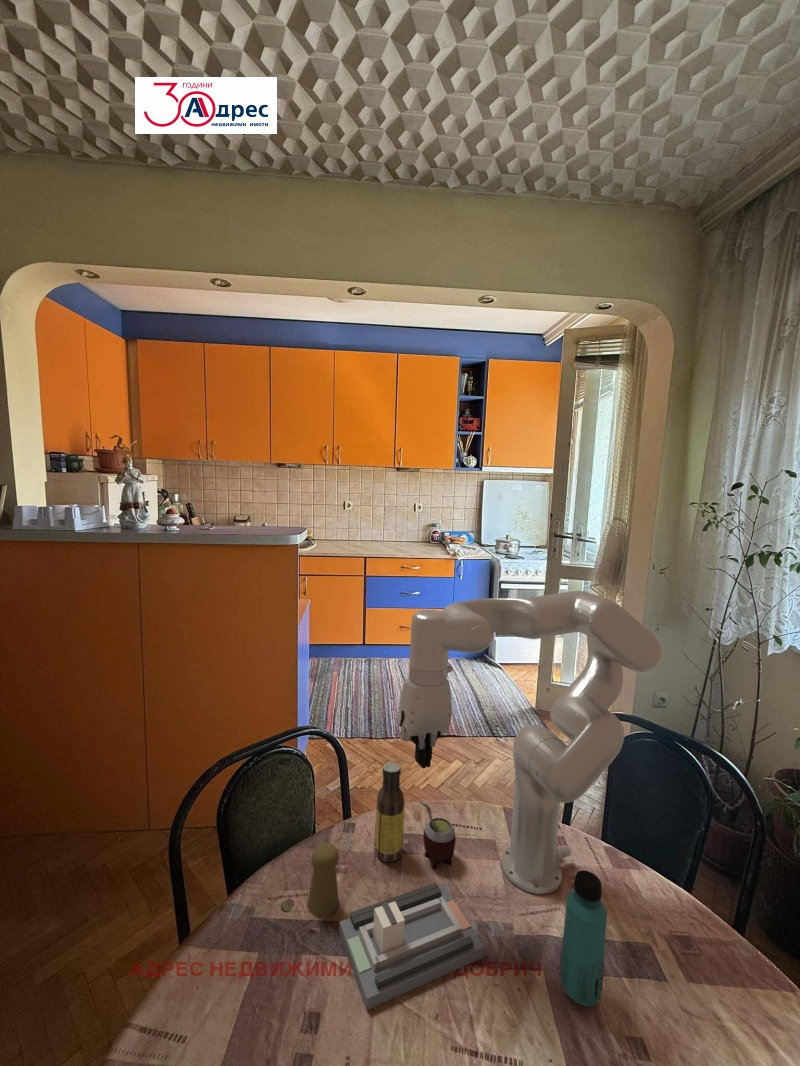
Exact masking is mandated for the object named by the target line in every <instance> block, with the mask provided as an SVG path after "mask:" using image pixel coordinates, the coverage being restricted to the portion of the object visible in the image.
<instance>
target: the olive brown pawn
mask: <svg viewBox="0 0 800 1066" xmlns="http://www.w3.org/2000/svg"><path fill="white" fill-rule="evenodd" d="M339 856H340V855H339V850H338V849H337V847H336V845H334V844H333V843H330V842H323V843H319V844H318V845H317V846H316V847H315V848H314V849H313V851H312V854H311V865H312V868H313V871H312V876H311V882H310V886H309V893H308V897H307V903H306V905H307V909H308V911H309V912H310V914H312V915H313V916H316V917H323V918H324V917H327V916H329V915H331V914H332V913H334V912H335V911H336V910H337V908H338V906H339V900H340V899H339V891H338V890H339V889H338V879H337V869H336V868H337V866H338V862H339V859H340V857H339Z"/></svg>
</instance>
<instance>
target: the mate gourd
mask: <svg viewBox="0 0 800 1066" xmlns="http://www.w3.org/2000/svg"><path fill="white" fill-rule="evenodd" d="M418 803H420V804H421V806H424V807H425V808H426V811H427V813H428V817H429V821H428V822H427V824H426V825H425V827H424V830H423V844H424V850H425V852H424V854H423V855H424V857H425V858H428V859H431V860H433V861H432V863H433V864H432V866H431V868H432V869H431V870H433V871H436V870H437V868H438V866H439V863H441V864H445V865H448V866H452V864H453V861H452V859H453V857H454V853H455V849H456V848H455V847H456V841H457V840H456V832H455V828H454V826H453V825H452V823H451V822H450V821H449V820H447V819H446V818H444V817H435V818H434V817H433V816H432V810H431V807H430V806H429V805H428V804H427V803H425V802H423V801H421V800H418Z"/></svg>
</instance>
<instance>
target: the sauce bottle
mask: <svg viewBox="0 0 800 1066" xmlns="http://www.w3.org/2000/svg"><path fill="white" fill-rule="evenodd" d="M401 769H402V768H401V765H400V763H397V762H391V761H390V762H386V763H385V764H383V766H382V787H381V788H380V790H379V792H378V793H377V796H376V815H375V854H376V856H377V857H378V859H379V860H380V861H382V862H389V863H391V862H394V861H396V860H398V859H400V858H401V856H402V854H403V847H404V831H405V829H404V828H405V827H404V826H405V825H404V824H405V820H404V819H405V796H404V792H403V791H402V789H401V787H400V785H401V783H400V781H401V778H400V777H401V772H402V771H401Z"/></svg>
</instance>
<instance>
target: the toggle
mask: <svg viewBox="0 0 800 1066" xmlns="http://www.w3.org/2000/svg"><path fill="white" fill-rule="evenodd" d="M404 924H405V920H404V918H403V916H402V914H401V912H400V910H399V908H398V906H397V904H396V902H395V901H394V902H392V903H389V904H388V902H387V903H384V904H382V906H380V907H378V908H375V909H374V924H373V937H374V939H375V941H376V944H377V946H378V949H379V951H380V953H381V955H382V954H384V953H387V952H389V951H392V950H394V949H397V948H399V947H401V946H403V941H404Z"/></svg>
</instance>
